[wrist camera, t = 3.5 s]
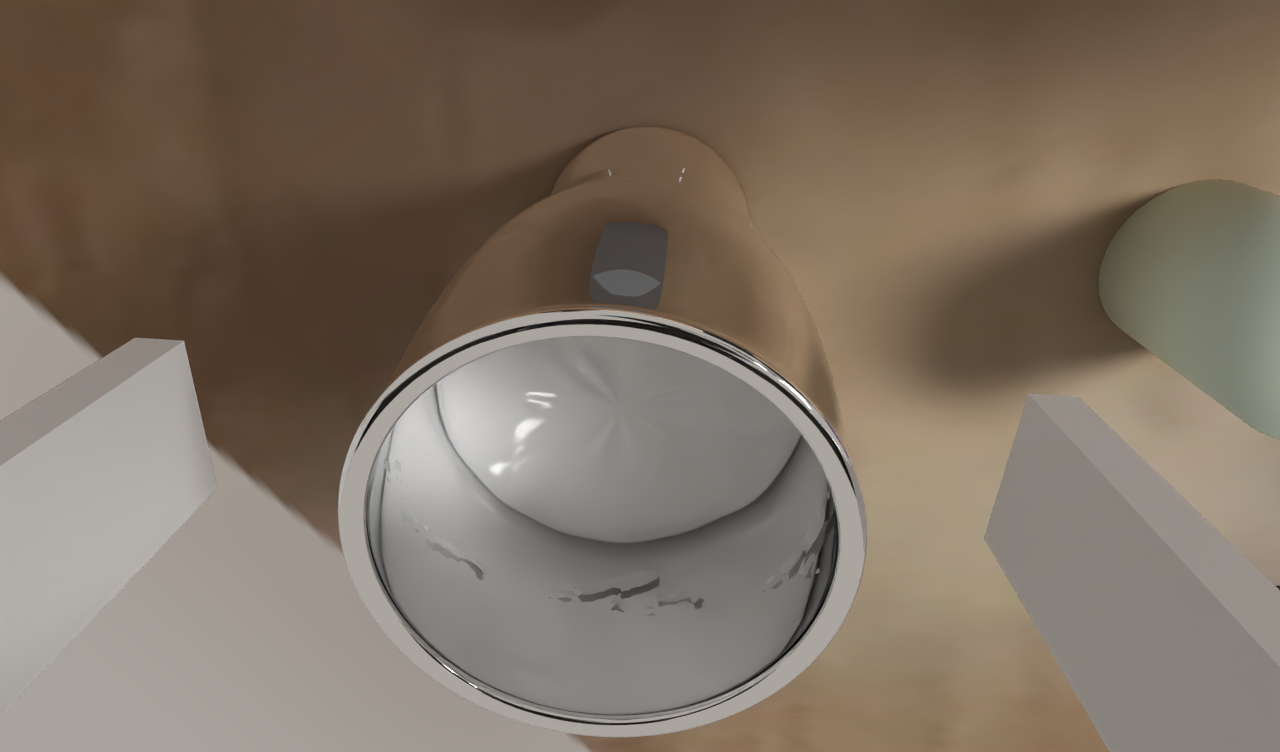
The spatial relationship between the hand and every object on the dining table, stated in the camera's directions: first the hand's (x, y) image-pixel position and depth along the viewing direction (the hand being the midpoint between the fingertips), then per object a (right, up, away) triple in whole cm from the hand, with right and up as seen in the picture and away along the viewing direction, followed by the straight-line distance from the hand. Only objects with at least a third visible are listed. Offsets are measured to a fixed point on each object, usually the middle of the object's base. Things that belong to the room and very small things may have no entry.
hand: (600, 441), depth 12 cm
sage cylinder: (+17, +4, +10) cm, 20 cm away
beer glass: (+1, +5, +11) cm, 12 cm away
